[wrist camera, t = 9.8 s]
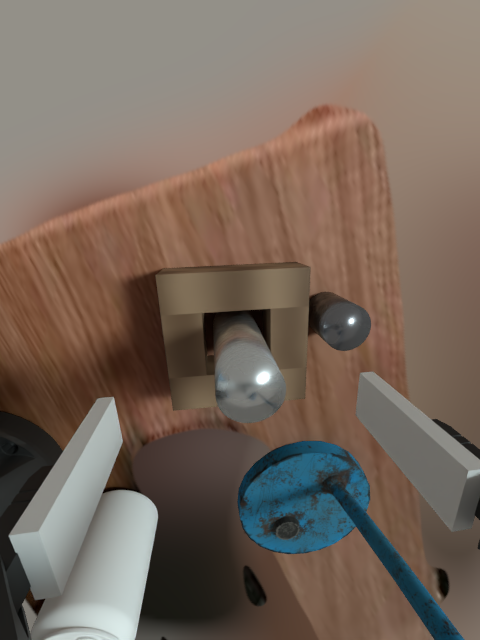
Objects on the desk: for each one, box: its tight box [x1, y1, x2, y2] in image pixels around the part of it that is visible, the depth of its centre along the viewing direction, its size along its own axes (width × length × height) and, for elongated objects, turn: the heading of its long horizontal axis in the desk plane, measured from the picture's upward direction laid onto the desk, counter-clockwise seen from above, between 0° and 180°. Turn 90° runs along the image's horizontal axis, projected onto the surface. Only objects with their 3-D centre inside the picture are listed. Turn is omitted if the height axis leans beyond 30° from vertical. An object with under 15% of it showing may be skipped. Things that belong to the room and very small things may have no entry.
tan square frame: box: [155, 262, 310, 411], centre depth 25 cm, size 12×12×4 cm
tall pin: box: [213, 310, 286, 423], centre depth 21 cm, size 4×4×12 cm
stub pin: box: [308, 292, 371, 351], centre depth 25 cm, size 4×4×5 cm
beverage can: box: [30, 490, 158, 640], centre depth 27 cm, size 8×8×12 cm
